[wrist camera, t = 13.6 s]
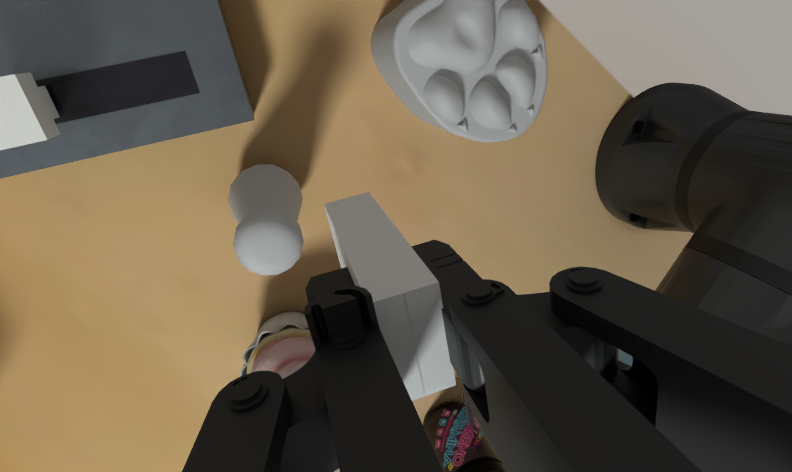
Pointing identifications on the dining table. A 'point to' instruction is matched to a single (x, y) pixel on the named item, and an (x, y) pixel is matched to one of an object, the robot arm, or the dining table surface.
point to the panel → (121, 73)
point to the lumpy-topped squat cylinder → (465, 64)
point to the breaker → (25, 112)
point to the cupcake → (280, 345)
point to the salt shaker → (266, 219)
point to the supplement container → (460, 441)
